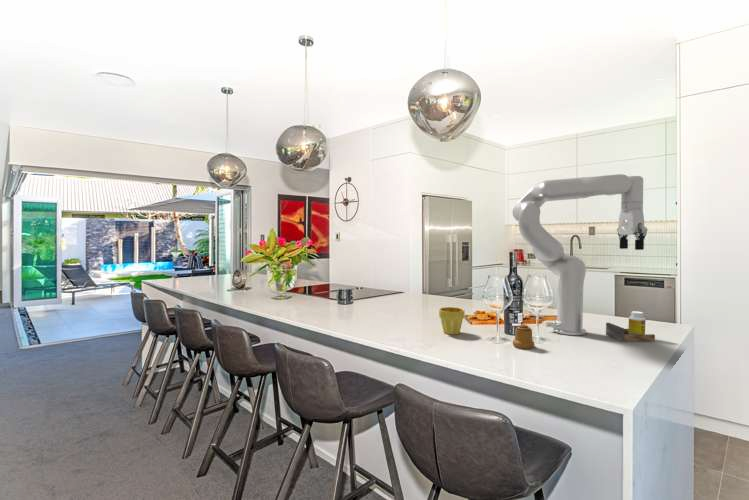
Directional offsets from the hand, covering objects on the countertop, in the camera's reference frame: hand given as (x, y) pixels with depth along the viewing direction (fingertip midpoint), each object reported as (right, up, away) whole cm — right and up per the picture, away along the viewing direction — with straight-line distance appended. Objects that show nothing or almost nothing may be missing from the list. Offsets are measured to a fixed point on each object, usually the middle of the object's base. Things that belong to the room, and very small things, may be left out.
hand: (631, 249), depth 168 cm
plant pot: (-73, -35, +2) cm, 81 cm away
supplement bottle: (-2, -35, -7) cm, 36 cm away
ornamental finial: (-51, -36, -18) cm, 65 cm away
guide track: (-5, -35, -7) cm, 36 cm away
